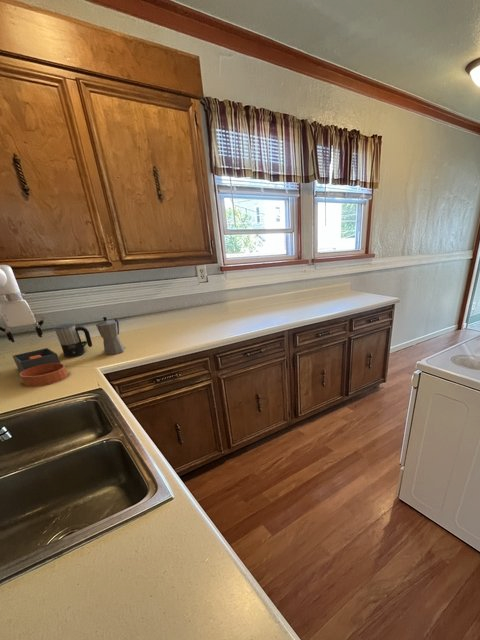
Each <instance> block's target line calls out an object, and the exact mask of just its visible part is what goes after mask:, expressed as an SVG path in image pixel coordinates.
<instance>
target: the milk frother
mask: <svg viewBox="0 0 480 640" xmlns="http://www.w3.org/2000/svg"><path fill="white" fill-rule="evenodd" d="M52 329H54V332H55V335H56V336H57V339H58V343H59V344H60V347H61V349H62V353H63V356H64V357H65V358H74V357H75V358H76V357H79V356H82V355H84V354H85V353H86V351H85V347H86V346H88V347H89V348H92V347H93V342H92V338H91V333H90V331H89V330H88V328H87V327H85V326H84V325H83V326H82V325H77V326H76V324H75V323H63V324H58V325H55V326H53V327H52ZM79 331H81V332H83V333H84V336H85V340H83V341H82V339H81V336H80V334H79Z"/></svg>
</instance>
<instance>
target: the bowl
mask: <svg viewBox="0 0 480 640" xmlns="http://www.w3.org/2000/svg"><path fill="white" fill-rule="evenodd" d="M68 376H69V372H68V370H67V368H66V365H65V363H61V362H60V363H49V364H42V365H38V366H34V367H31V368H28V369H26V370H24V371H22V372H19V377H20V379H21V381H22V384H23V385H24V386H25V387H41V386H42V387H43V386H48V385H51V384H55V383H58V382H61V381H63V380H65V379H67V377H68Z"/></svg>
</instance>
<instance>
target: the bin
mask: <svg viewBox="0 0 480 640" xmlns="http://www.w3.org/2000/svg"><path fill="white" fill-rule="evenodd" d="M36 355H40V356H42V357H38V358H34V359H29V357H32V356H36ZM12 358H13V359H12V360H13V361H14V363H15V365H16V368H17V370H18V372H19V373H21V372H22V371H24V370H26V369H28V368H31V367H34V366H38V365H42V364H49V363H61V361H60V359H59V356H58V353H56V352H55V351H53V350H51V349H50V348H48V347H46V348H41V349H36V350H32V351H27V352H23V353H19V354H14V355H12Z"/></svg>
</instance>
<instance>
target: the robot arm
mask: <svg viewBox="0 0 480 640" xmlns="http://www.w3.org/2000/svg"><path fill="white" fill-rule="evenodd" d="M26 297H27V294H26V293H22V292H21V290H20V287H19V285H18V282H17V279H16V276H15V274H14V271H13V269H12V267H11V266H9V265H8V264H0V324H1V323H3V324H4V326H5V327H2V326H0V331H1V332H4V333H5V335H6V337H7V340H8V341H10V342H11V343H15V339H14V336H13V334H12V332H11V329H12V328H18V327H25V326H33V325H34V326H35V328H34V329H35V332H36V334H37V337H38V338H43V336H42V335H44V334H43V333H44V332H43V331H42V326H43V324H44V321H45V316H44V315H41V314H37V313H33V311H32V309H31V307H30V306H29V303H28V302H27V300H26V299H24V298H26ZM36 318H37V319H39V320H38V322H36V321H37V320H36Z"/></svg>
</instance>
